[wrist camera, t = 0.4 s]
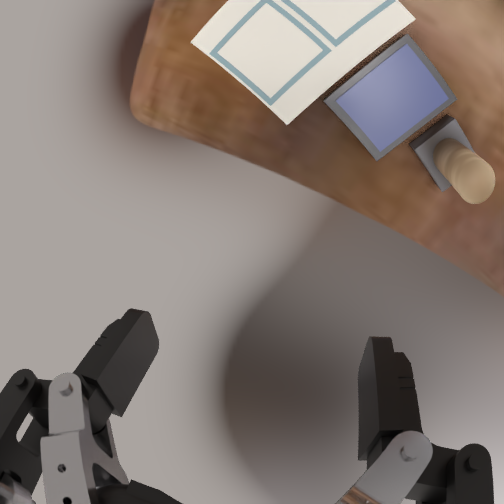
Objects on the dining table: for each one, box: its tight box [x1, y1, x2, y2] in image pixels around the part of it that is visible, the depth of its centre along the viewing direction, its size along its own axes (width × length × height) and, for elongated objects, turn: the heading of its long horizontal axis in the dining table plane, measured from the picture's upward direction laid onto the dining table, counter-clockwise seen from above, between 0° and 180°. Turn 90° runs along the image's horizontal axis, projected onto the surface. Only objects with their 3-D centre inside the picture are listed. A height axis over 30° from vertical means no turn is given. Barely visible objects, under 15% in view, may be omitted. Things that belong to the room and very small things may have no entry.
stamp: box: [410, 115, 495, 204], centre depth 19 cm, size 5×5×8 cm
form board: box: [191, 0, 415, 125], centre depth 19 cm, size 16×12×1 cm
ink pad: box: [324, 34, 457, 161], centre depth 20 cm, size 10×7×2 cm
